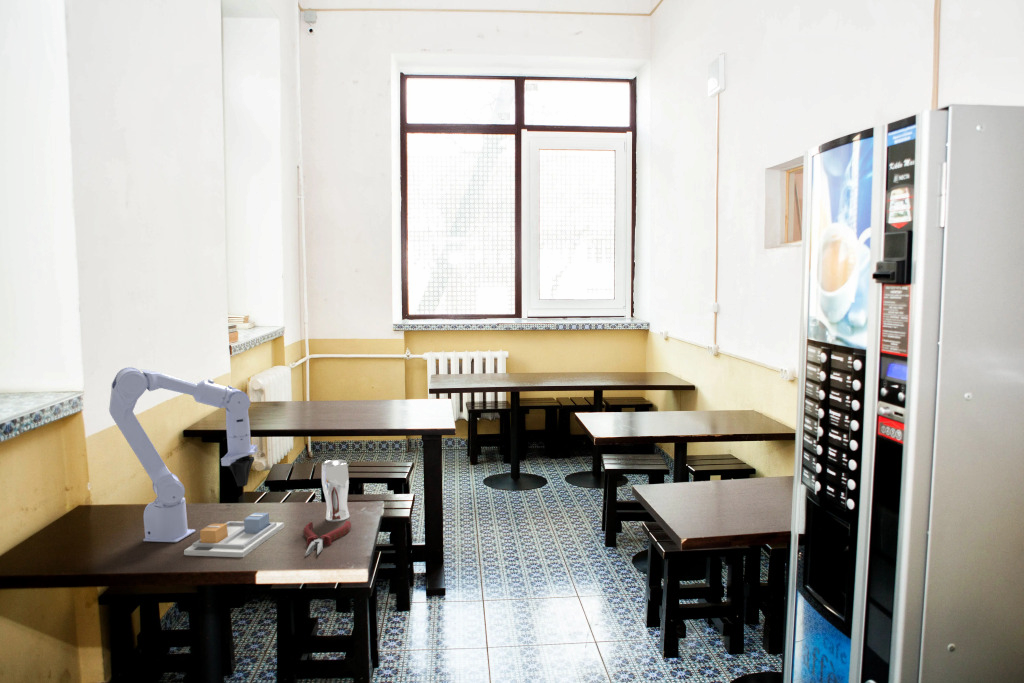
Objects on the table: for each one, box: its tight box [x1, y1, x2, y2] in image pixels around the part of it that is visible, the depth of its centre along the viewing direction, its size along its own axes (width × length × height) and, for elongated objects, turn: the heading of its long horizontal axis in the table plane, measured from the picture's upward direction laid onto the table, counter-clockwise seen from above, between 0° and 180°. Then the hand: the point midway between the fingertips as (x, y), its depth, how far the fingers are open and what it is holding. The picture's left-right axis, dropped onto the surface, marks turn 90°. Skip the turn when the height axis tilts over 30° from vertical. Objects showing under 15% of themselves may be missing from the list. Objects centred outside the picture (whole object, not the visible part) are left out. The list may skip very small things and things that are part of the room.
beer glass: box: [321, 459, 350, 523], centre depth 195 cm, size 7×7×15 cm
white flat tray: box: [183, 520, 285, 558], centre depth 182 cm, size 15×20×2 cm
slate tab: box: [243, 512, 270, 533], centre depth 185 cm, size 4×5×4 cm
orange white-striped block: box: [199, 522, 228, 543], centre depth 178 cm, size 4×5×4 cm
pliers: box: [303, 520, 352, 557], centre depth 179 cm, size 12×20×3 cm, turn 2°
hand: (242, 485), depth 195 cm, fingers closed
